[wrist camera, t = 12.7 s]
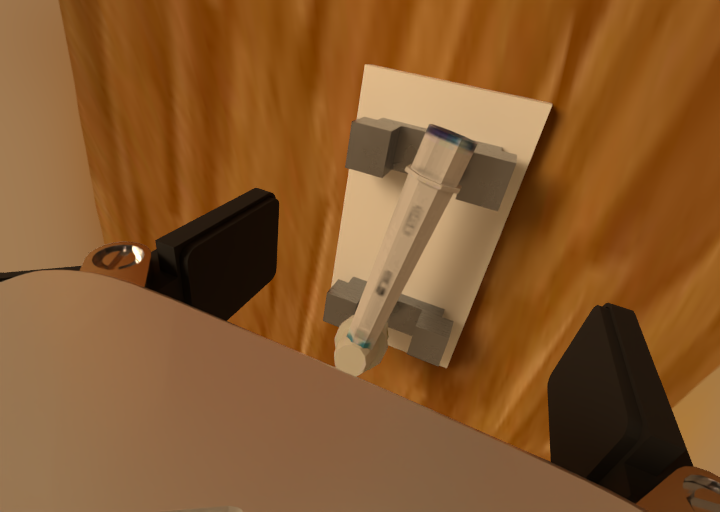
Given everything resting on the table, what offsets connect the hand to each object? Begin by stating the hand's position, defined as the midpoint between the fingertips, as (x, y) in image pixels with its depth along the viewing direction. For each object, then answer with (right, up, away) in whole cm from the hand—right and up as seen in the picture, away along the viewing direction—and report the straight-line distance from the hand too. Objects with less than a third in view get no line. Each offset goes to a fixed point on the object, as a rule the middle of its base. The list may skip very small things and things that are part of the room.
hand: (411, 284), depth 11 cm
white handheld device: (+2, +1, +25) cm, 25 cm away
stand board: (+4, +3, +30) cm, 30 cm away
